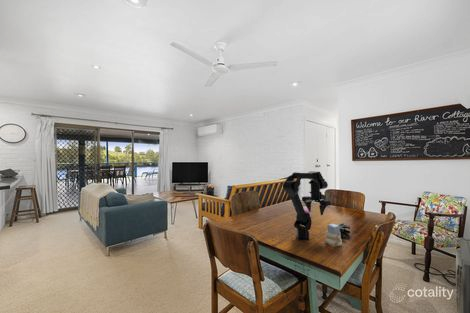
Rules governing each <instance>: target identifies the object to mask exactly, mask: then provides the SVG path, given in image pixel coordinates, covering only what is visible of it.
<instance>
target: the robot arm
mask: <svg viewBox="0 0 470 313" xmlns="http://www.w3.org/2000/svg"><path fill="white" fill-rule="evenodd" d="M305 179H306V180H310V181H308V184H309V185H310V191H309V194H310V196H307V195H305V196H302V197H301V198H300V196H299V190H300V188H299V187H300V185H301V180H305ZM328 186H329V184H328V182H327V181H326V180H325V178H324V177H323V175H322V173H321V172H320V171H314V170H313V171H312V170H310V171H307V172H297V171H296V172H295V171H294V172H292V174H291V175H290V176H289V177H287V178H286V179H285V181H284V182H283V184H282V188H283V190H284V191H285V193H286V194H287V195H288V196H289V198H290V200H291V203H292V205H293V208H294V210H295V213H296V216H295V218H296V220H295V222H294V223H293V227H294V228H296V235H295V238H297V240H298V241H309V240H310V230H311V229H312V228H311V227H312V224H313V223H312V221H313V220H312V217H311V214H310V213H311V212H312V210H311V209H312V202H315V203H316V204H317V203H318V204H319V205H318V206H319V213H320V216H323V215H324V212H325V210H326V208H327V207H328V206H331V204H332V203H331V201H330V200H329V199H327V198H326V196H327V195H325V194H322V191H321V190H324V189H327V188H328ZM302 202H303V203H304V205H305V207H306V208H307V211H308V212H306V211H305V208H304V205H303V203H302Z"/></svg>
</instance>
